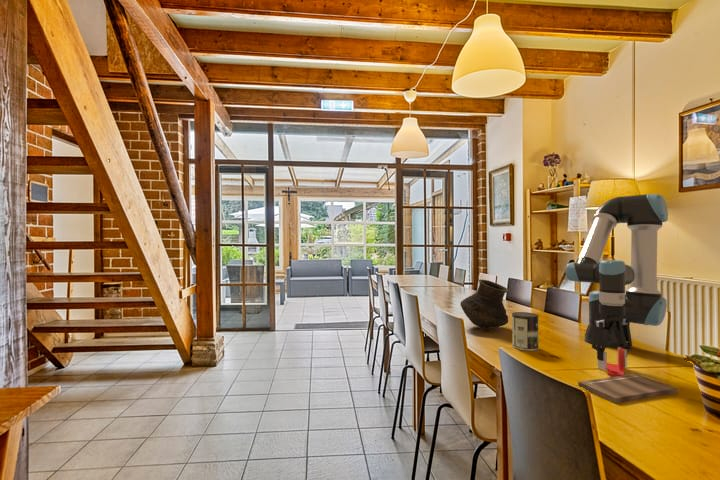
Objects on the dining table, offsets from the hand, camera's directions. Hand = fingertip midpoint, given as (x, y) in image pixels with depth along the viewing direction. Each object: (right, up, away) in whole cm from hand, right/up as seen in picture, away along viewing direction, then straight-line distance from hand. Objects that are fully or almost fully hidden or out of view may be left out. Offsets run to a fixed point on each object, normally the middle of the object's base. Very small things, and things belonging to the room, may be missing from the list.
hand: (612, 368), depth 127 cm
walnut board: (-8, 0, -18) cm, 20 cm away
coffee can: (-19, -1, +26) cm, 32 cm away
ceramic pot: (-25, -1, +60) cm, 64 cm away
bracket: (-1, -1, -3) cm, 3 cm away
